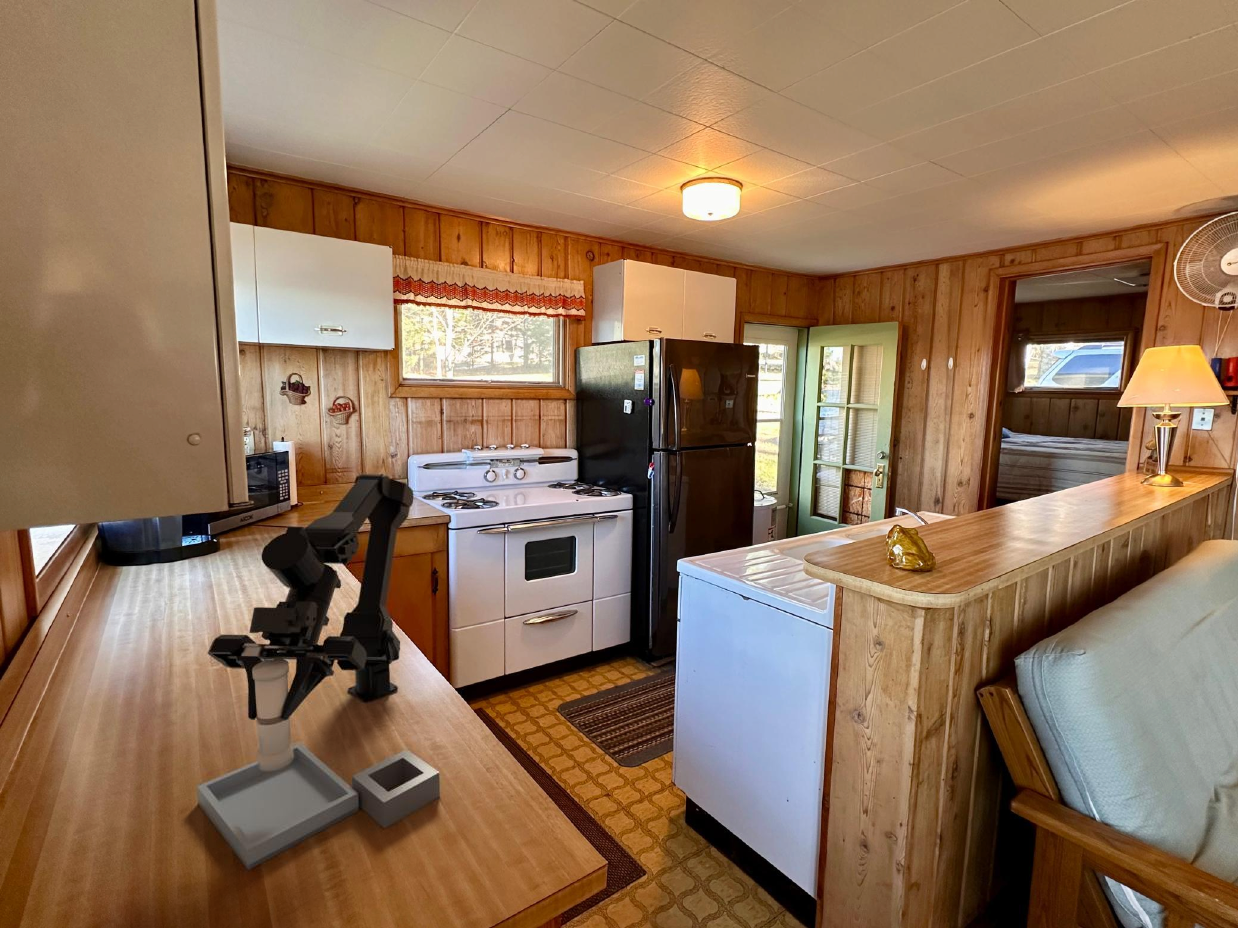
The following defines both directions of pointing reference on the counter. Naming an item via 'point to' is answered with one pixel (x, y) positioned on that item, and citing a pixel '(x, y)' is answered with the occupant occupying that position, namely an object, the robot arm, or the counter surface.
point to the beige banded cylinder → (272, 714)
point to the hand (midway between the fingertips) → (267, 719)
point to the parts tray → (276, 805)
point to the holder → (402, 799)
